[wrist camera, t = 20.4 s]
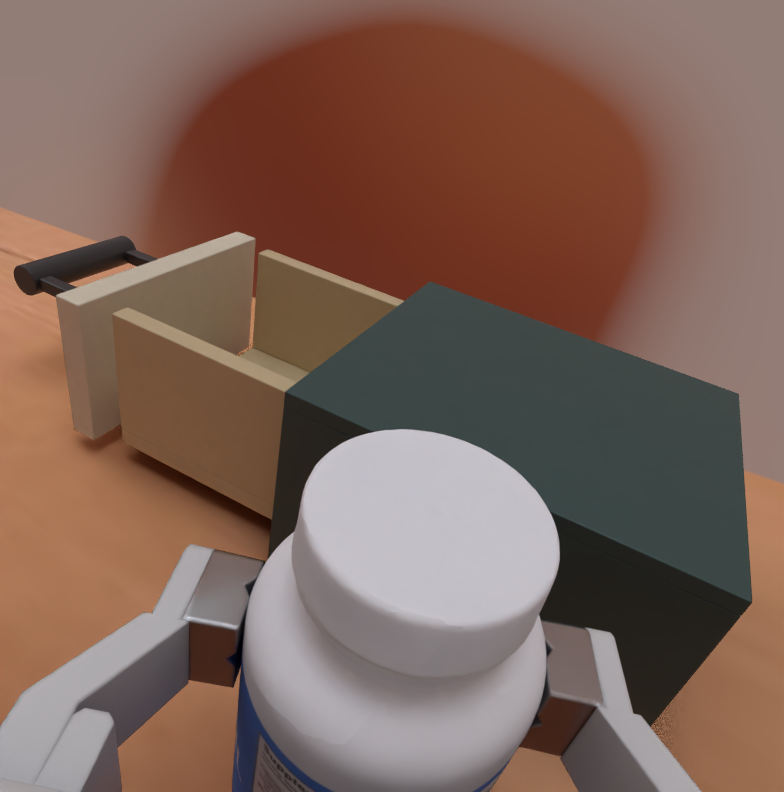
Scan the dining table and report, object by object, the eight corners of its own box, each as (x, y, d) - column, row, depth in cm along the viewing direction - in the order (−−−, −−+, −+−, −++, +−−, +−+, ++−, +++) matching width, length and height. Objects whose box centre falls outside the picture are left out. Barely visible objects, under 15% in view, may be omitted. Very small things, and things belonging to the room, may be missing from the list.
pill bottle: (299, 652, 17) (351, 366, 12) (476, 739, 16) (620, 468, 11) (176, 859, 13) (171, 554, 7) (408, 997, 12) (596, 757, 6)
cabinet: (266, 562, 24) (284, 391, 19) (397, 417, 33) (430, 280, 29) (625, 758, 20) (753, 602, 15) (655, 530, 29) (739, 393, 25)
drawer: (-21, 380, 28) (-52, 246, 24) (154, 305, 37) (150, 198, 33) (332, 568, 23) (358, 433, 19) (438, 429, 32) (469, 318, 28)
